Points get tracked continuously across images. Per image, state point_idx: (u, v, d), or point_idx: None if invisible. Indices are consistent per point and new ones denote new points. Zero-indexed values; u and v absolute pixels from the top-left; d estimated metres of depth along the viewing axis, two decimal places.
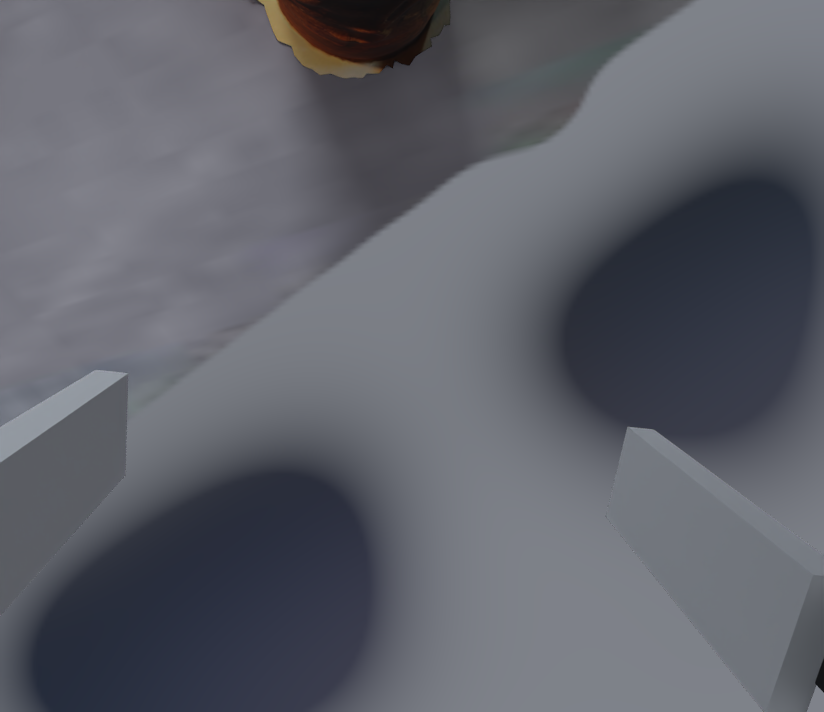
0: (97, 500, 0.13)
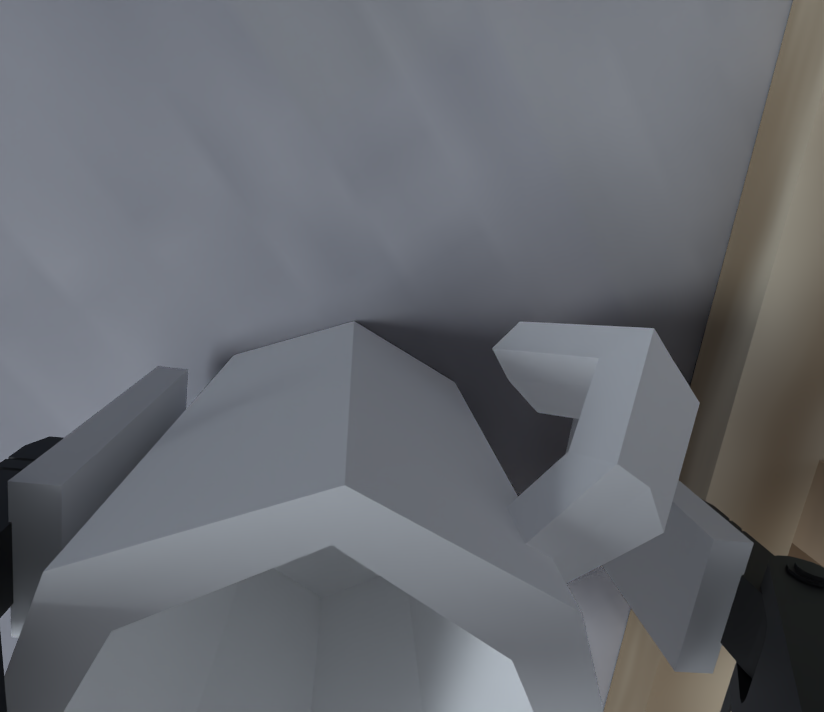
0: None
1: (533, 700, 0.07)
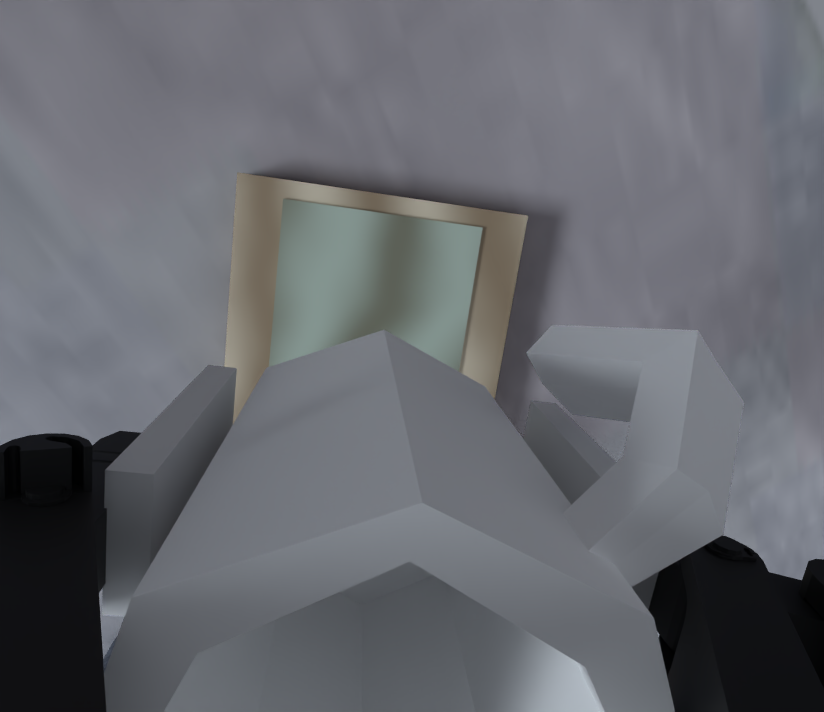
0: None
1: (606, 705, 0.07)
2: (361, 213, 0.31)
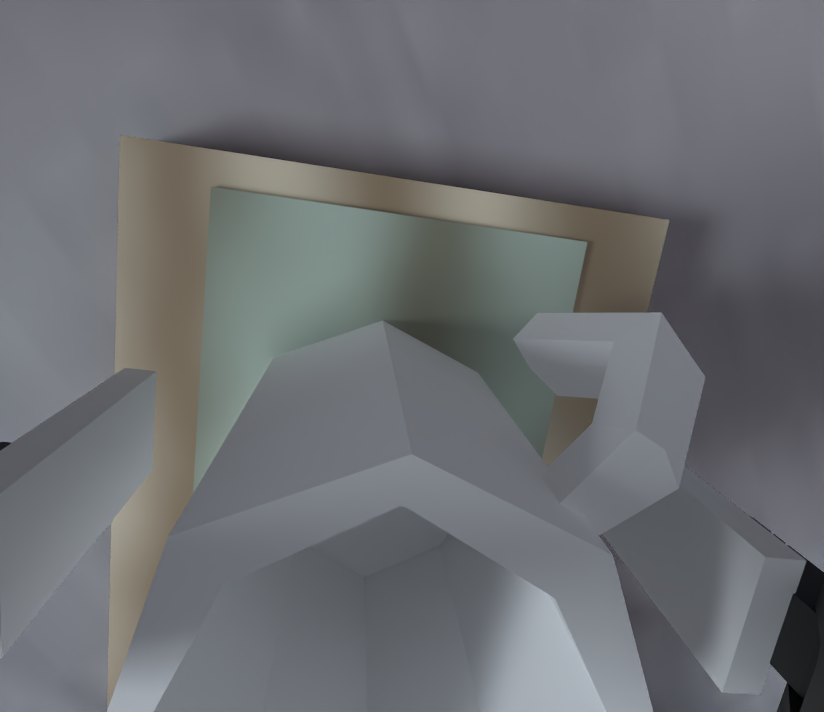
0: (128, 493, 0.13)
1: (574, 632, 0.09)
2: (362, 215, 0.16)
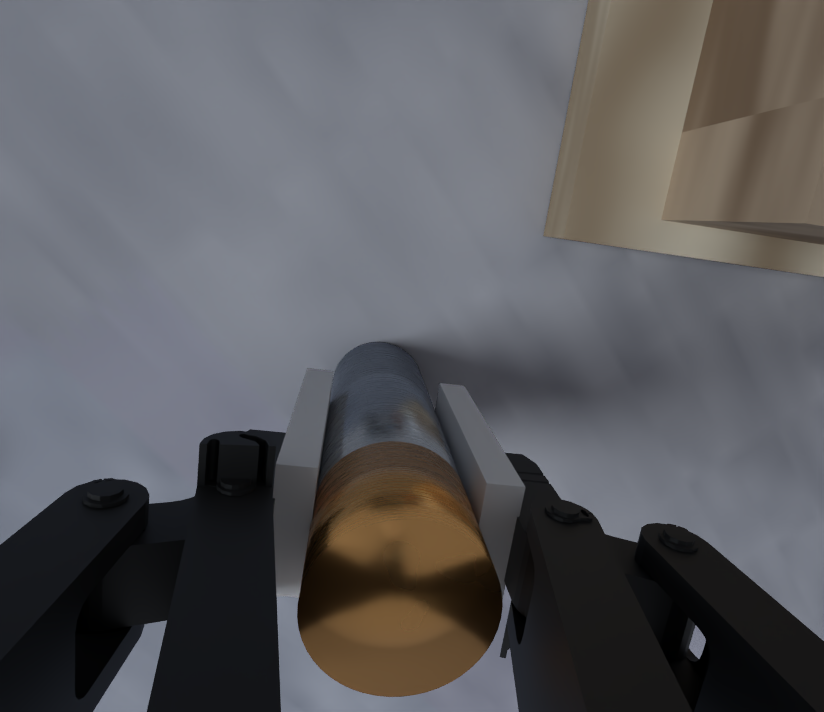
0: None
1: None
2: None
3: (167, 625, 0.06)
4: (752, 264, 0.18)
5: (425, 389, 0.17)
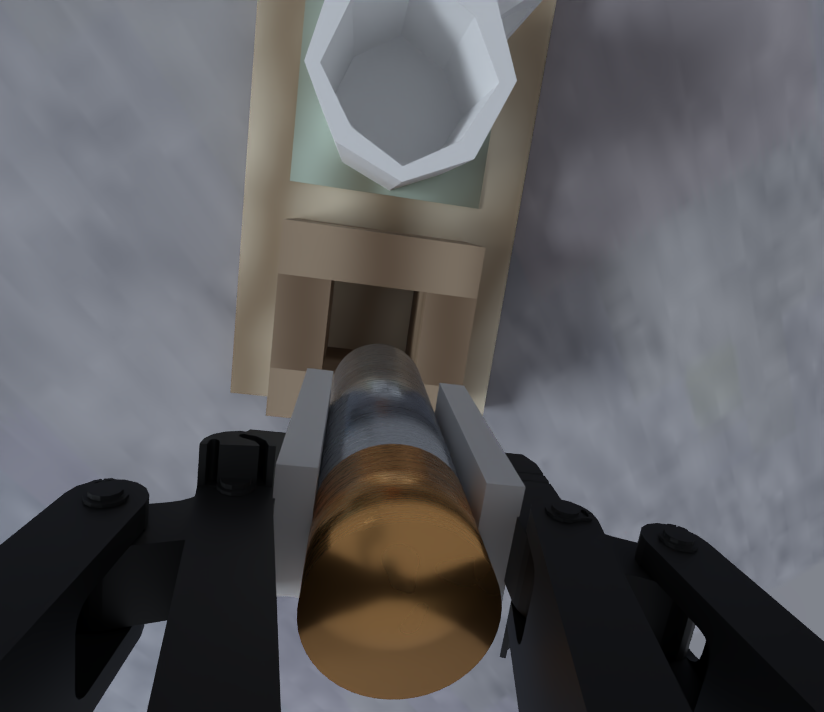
0: None
1: (482, 33, 0.22)
2: None
3: (167, 625, 0.06)
4: None
5: (425, 391, 0.17)
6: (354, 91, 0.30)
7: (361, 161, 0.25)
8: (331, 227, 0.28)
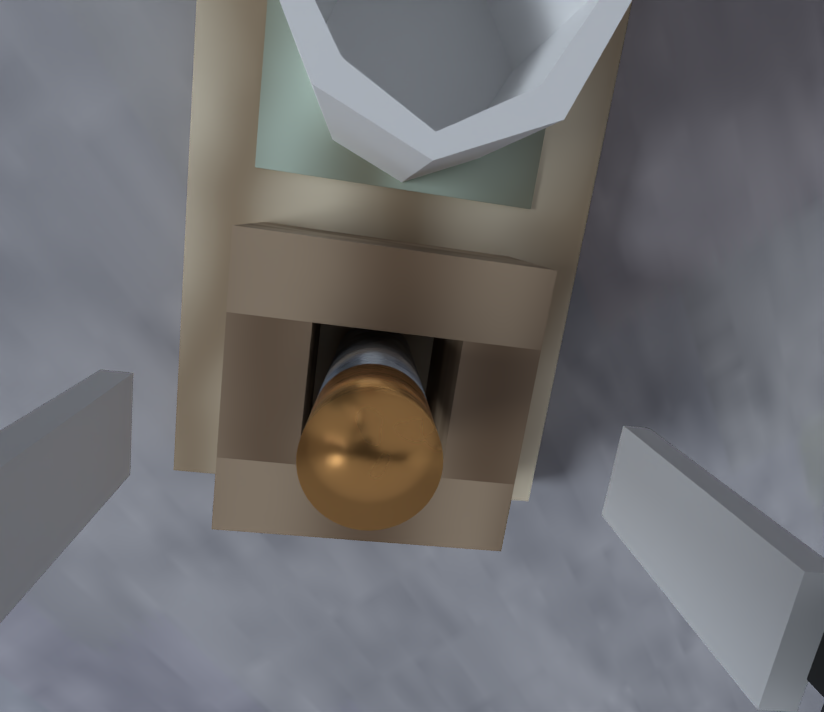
0: (103, 499, 0.13)
1: None
2: None
3: None
4: None
5: (409, 353, 0.21)
6: (350, 29, 0.20)
7: (360, 127, 0.14)
8: (312, 238, 0.17)
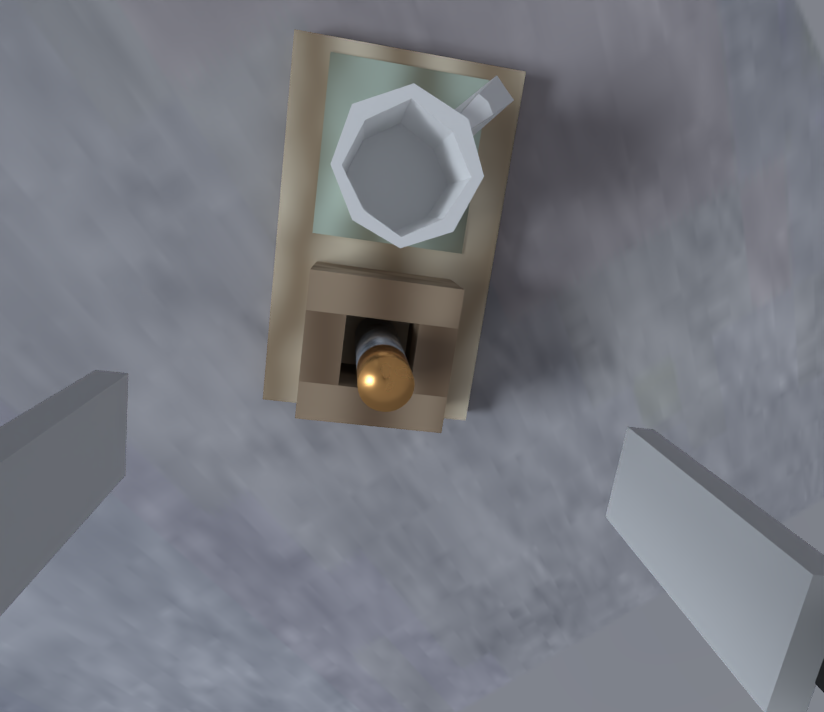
0: (97, 500, 0.13)
1: (459, 143, 0.31)
2: (392, 65, 0.39)
3: None
4: None
5: (396, 334, 0.40)
6: (363, 166, 0.39)
7: None
8: (346, 275, 0.36)
